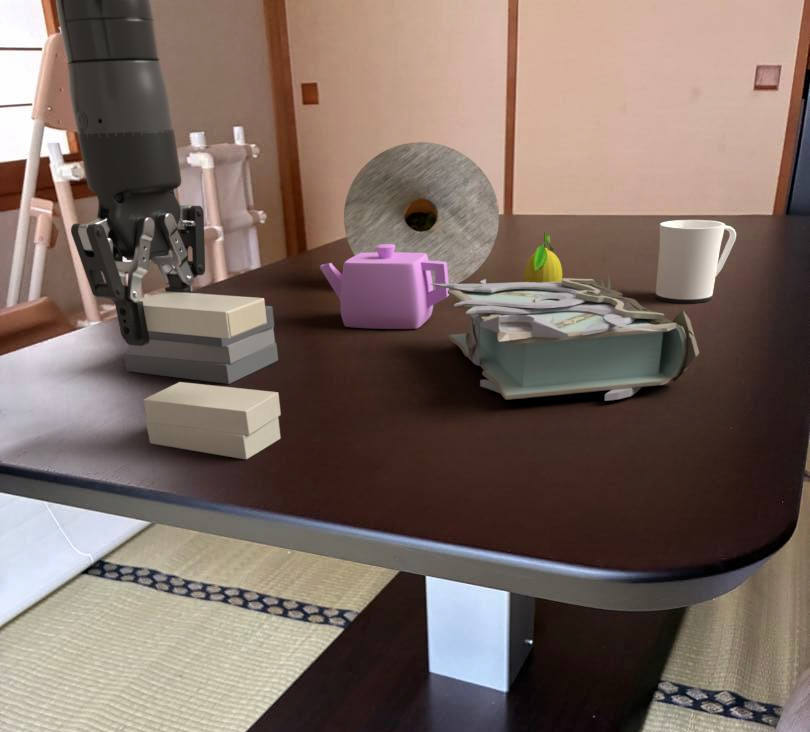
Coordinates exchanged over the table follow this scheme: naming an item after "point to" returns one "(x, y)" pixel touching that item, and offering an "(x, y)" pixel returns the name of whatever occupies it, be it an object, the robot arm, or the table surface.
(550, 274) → the lemon
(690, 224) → the mug
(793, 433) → the table surface
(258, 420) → the cream lidded box
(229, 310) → the cream rectangular block
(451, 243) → the disc
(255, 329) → the grey stack
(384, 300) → the teapot
